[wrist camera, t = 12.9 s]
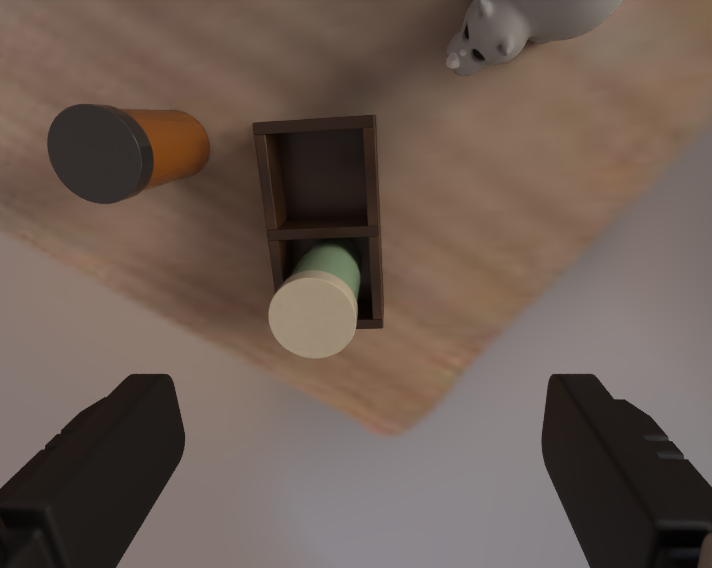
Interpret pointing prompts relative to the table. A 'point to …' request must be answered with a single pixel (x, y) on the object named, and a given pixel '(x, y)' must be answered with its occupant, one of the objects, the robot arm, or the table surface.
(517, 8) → the chubby cartoon animal
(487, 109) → the table surface
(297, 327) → the green jar
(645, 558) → the robot arm
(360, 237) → the jar stand
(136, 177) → the amber jar
